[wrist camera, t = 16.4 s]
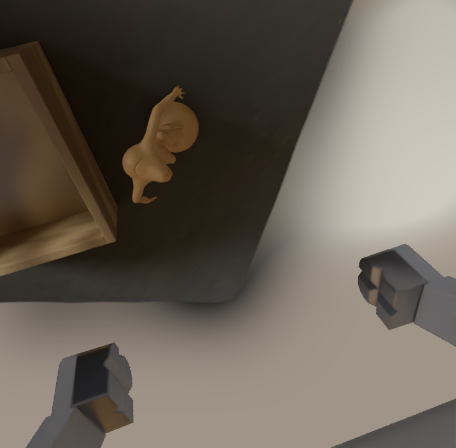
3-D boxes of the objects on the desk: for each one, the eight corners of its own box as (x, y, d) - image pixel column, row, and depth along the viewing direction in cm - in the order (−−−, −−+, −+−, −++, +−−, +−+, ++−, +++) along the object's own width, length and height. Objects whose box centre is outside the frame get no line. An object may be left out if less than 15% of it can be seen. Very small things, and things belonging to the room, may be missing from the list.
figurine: (181, 167, 32) (204, 245, 22) (115, 153, 29) (110, 232, 20) (207, 77, 28) (249, 125, 18) (133, 53, 25) (138, 93, 16)
